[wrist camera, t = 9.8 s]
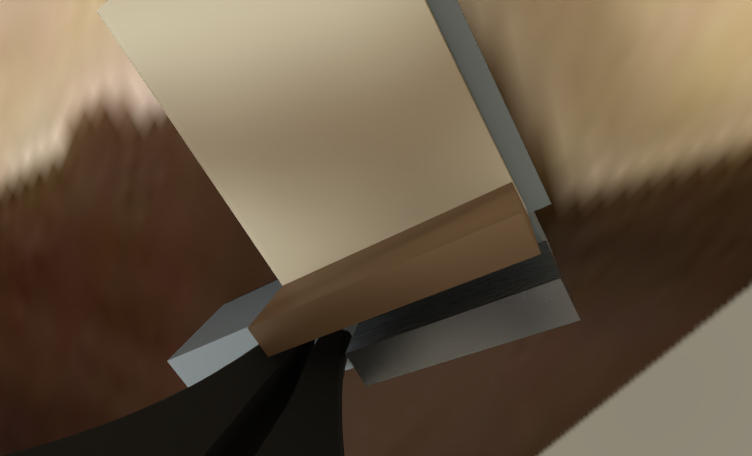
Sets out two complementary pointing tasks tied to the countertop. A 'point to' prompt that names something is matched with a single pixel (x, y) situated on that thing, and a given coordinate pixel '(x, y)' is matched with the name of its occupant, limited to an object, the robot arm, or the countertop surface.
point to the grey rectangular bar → (464, 319)
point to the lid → (333, 149)
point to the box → (233, 339)
